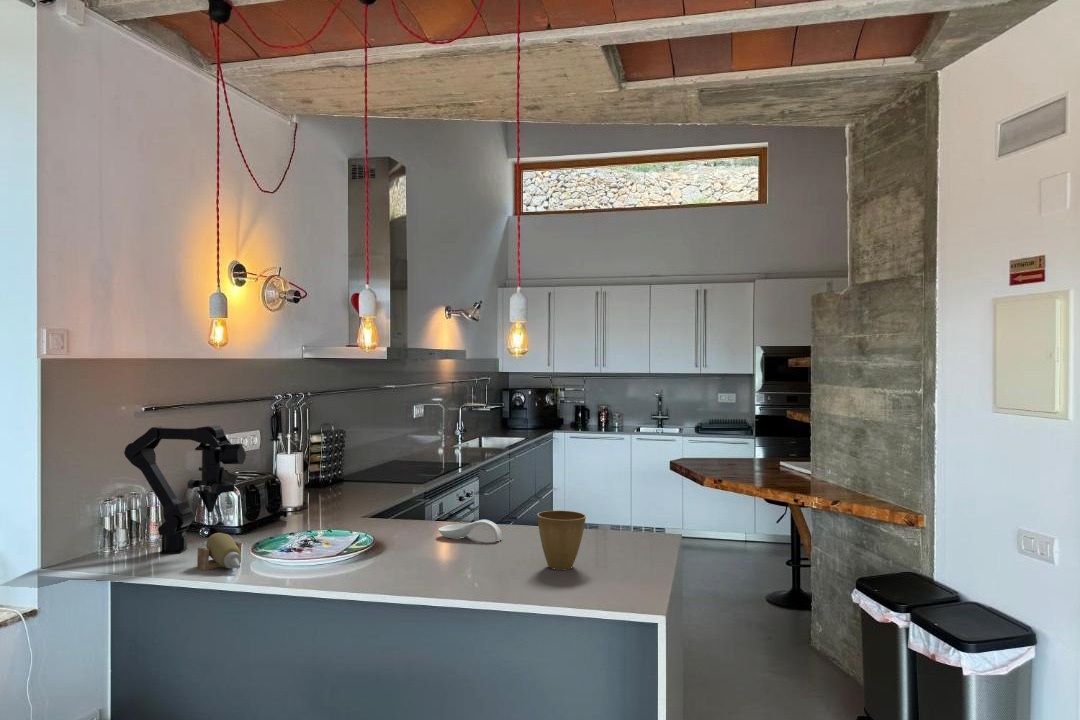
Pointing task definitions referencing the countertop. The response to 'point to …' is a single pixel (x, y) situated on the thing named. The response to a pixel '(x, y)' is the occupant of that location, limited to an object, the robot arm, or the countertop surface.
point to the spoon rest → (468, 529)
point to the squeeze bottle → (224, 550)
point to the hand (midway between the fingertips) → (210, 512)
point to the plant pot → (561, 536)
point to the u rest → (204, 560)
